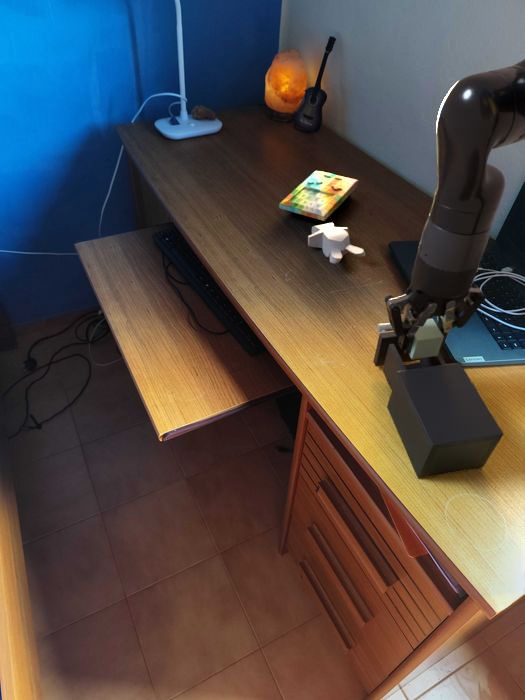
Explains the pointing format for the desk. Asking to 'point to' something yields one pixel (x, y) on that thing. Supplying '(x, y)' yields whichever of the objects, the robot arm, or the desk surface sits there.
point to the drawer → (397, 355)
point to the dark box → (442, 420)
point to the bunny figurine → (333, 241)
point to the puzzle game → (319, 195)
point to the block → (426, 341)
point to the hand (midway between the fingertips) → (419, 347)
